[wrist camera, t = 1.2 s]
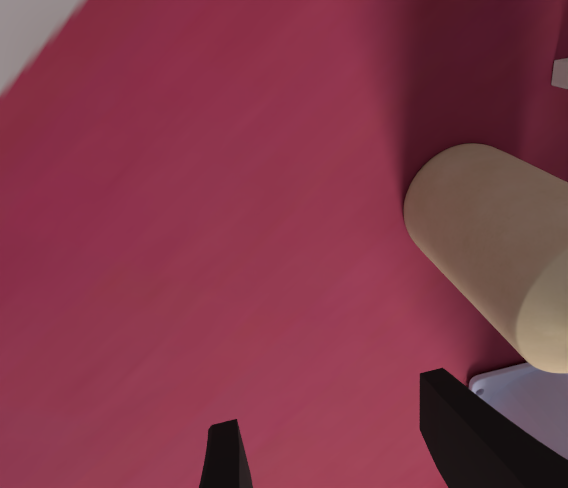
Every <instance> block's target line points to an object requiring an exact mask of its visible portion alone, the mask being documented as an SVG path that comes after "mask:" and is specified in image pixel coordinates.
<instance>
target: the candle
mask: <svg viewBox="0 0 568 488" xmlns="http://www.w3.org/2000/svg"><path fill="white" fill-rule="evenodd" d="M404 222H405V225H406V229H407V231H408V233H409V235H410V237H411V238H412V240H413V241H414V243H415V244H416V245H417V246H418V247H419V248H420V249H421V251H422V252H423V253H424V254H425V255H426V256H427V257H428V258H429V259H430V260H431V261H432V262H433V263H434V264H435V265H436V266H437V267H438V268H439V270H440V271H441V272H442V273H443V274H444V275H445V276H446V277H447V278H448V279H449V280H450V281H451V282H452V283H453V284H454V285H455V286H456V287H457V288H458V290H459V291H460V292H461V293H462V294H463V295H464V296H465V297H466V298H467V299H468V300H469V301H470V302H471V303H472V304H473V305H474V306H475V307H476V308H477V310H478V311H479V312H480V313H481V314H482V315H483V316H484V317H485V318H486V319H487V320H488V321H489V322H490V323H491V324H492V325H493V326H494V327H495V328H496V330H497V331H498V332H499V333H500V334H501V335H502V336H503V337H504V338H505V339H506V340H507V341H508V342H509V343H510V344H511V345H512V346H513V347H514V348H515V349H516V351H517V352H518V353H519V354H520V355H521V356H522V357H523V358H524V359H525V360H526V361H527V362H528V363H529V364H531V365H532V366H534V367H535V368H538V369H540V370H542V371H546V372H551V373H568V182H566V181H564V180H562V179H559V178H557V177H555V176H553V175H551V174H549V173H547V172H545V171H543V170H541V169H539V168H537V167H535V166H533V165H531V164H529V163H527V162H524V161H522V160H520V159H518V158H516V157H514V156H512V155H510V154H508V153H506V152H503V151H501V150H499V149H497V148H494V147H492V146H488V145H484V144H477V143H467V144H461V145H457V146H454V147H451V148H448V149H446V150H444V151H442V152H440V153H439V154H437V155H436V156H434V157H433V158H432V159H430V160H429V161H428V162H427V163H426V164H425V165H424V166H423V167H422V168H421V169H420V171H419V172H418V173H417V174H416V176H415V177H414V179H413V181H412V182H411V184H410V186H409V189H408V191H407V194H406V197H405V201H404Z"/></svg>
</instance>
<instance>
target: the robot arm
mask: <svg viewBox="0 0 568 488" xmlns="http://www.w3.org/2000/svg"><path fill="white" fill-rule="evenodd" d="M420 431H421V433H422V436H423V438H424V440H425V442H426V445H427V447H428V449H429V452H430V454H431V456H432V458H433V460H434V462H435V464H436V467H437V469H438V470H439V472H440V474H441V476H442V477H443V479H444V481H445V482H446V484H447V486H448V488H568V373H551V372H546V371H542V370H540V369H538V368H535V367H534V366H532V365H531V364H529V363H528V362H527V363H523V364H519V365H515V366H511V367H507V368H503V369H499V370H495V371H491V372H487V373H483V374H479V375H476V376H474V377H473V378H472V379H471V380H470V382H469V388H467V387H466V386H465V385H464V384H462V383H461V382H460V381H459V380H457V379H456V378H455V377H454V376H453V375H451V374H450V373H449V372H448V371H446V370H445V369H443V368H440V369H436V370H432V371H428V372H424V373H420ZM199 488H253V486H252V480H251V474H250V470H249V466H248V462H247V458H246V454H245V450H244V446H243V442H242V438H241V434H240V430H239V426H238V422H237V419H235V420H231V421H226V422H222V423H218V424H214V425H212V426H211V427H210V428H209V429H208V441H207V449H206V455H205V461H204V466H203V471H202V476H201V481H200V485H199Z"/></svg>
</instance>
